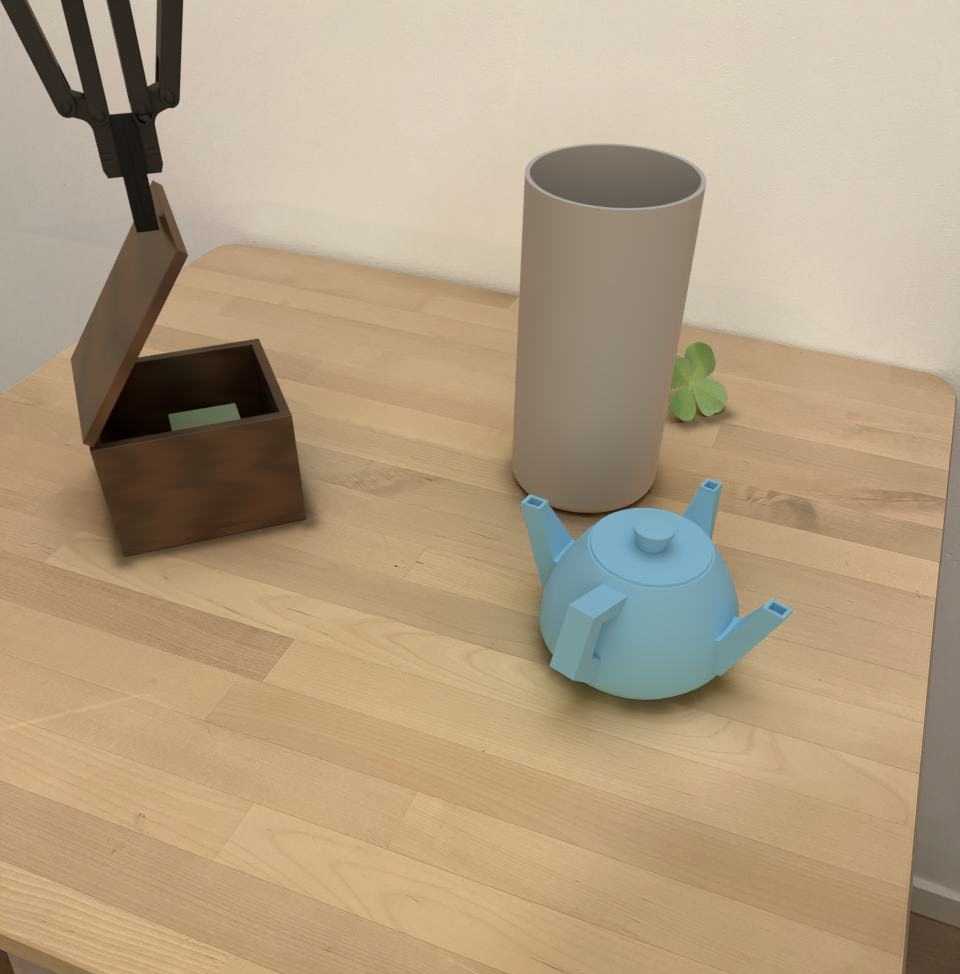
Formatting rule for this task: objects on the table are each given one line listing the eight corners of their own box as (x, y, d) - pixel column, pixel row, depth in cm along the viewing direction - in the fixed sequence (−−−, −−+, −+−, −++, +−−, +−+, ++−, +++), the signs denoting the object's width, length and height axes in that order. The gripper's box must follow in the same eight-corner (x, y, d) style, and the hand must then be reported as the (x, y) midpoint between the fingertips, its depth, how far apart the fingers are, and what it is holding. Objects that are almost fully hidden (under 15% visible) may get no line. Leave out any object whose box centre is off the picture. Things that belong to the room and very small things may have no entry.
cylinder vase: (662, 519, 80) (720, 211, 62) (512, 516, 80) (527, 208, 62) (646, 435, 89) (692, 145, 71) (510, 432, 89) (522, 141, 71)
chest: (274, 437, 88) (258, 337, 81) (306, 518, 79) (292, 415, 72) (108, 468, 84) (76, 366, 77) (123, 557, 76) (90, 451, 69)
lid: (162, 185, 70) (152, 179, 70) (188, 255, 62) (177, 249, 62) (80, 363, 77) (70, 359, 76) (93, 448, 69) (82, 444, 68)
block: (181, 470, 83) (167, 414, 79) (245, 458, 84) (235, 402, 80) (190, 507, 79) (176, 450, 75) (257, 494, 80) (247, 437, 76)
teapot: (511, 578, 75) (517, 462, 67) (699, 562, 76) (726, 447, 69) (550, 730, 64) (562, 612, 56) (767, 707, 66) (808, 590, 58)
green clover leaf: (668, 440, 97) (713, 438, 91) (611, 401, 93) (654, 396, 88) (695, 377, 98) (741, 370, 92) (639, 335, 94) (684, 325, 88)
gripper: (160, -251, 53) (232, 192, 70) (-98, -250, 50) (42, 215, 67) (179, -242, 48) (251, 233, 65) (-106, -241, 45) (48, 259, 62)
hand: (145, 223), depth 66 cm, fingers closed
